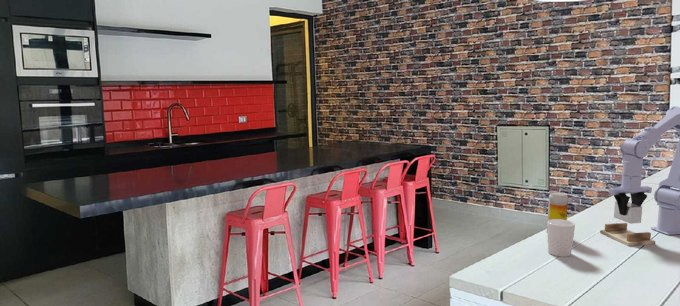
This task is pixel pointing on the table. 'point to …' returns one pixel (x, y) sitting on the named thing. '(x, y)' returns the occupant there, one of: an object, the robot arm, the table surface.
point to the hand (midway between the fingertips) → (628, 214)
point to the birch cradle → (626, 235)
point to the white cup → (560, 237)
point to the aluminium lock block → (629, 213)
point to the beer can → (557, 206)
